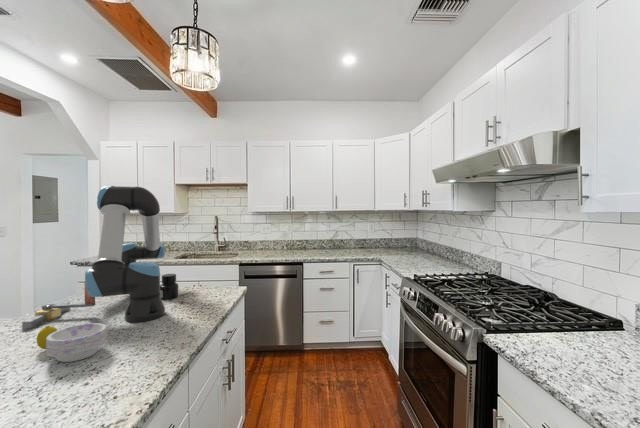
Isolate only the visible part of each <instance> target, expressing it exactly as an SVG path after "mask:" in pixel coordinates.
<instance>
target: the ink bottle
mask: <svg viewBox="0 0 640 428" xmlns="http://www.w3.org/2000/svg"><path fill="white" fill-rule="evenodd" d="M176 281H177V274H176V273H165V274H162V275H161V284H160V297H161V300H162V301H167V300H168V301H169V300H175V299H177V298H178V297H179V284H178V283H177V282H176Z"/></svg>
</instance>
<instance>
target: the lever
mask: <svg viewBox="0 0 640 428" xmlns="http://www.w3.org/2000/svg"><path fill="white" fill-rule="evenodd" d="M83 286H84V302H82V303H80V302H79V303H70V304H61V303H58V304H54V303H50V304H49V303H48V304H44V305H42V306H41V310H48V309H55V308H70V309H71V308H88V307H90V308H91V307H94V306H96V297H91V296H89V294H88V292H87V290H86V285H85V280H84V285H83Z"/></svg>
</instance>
